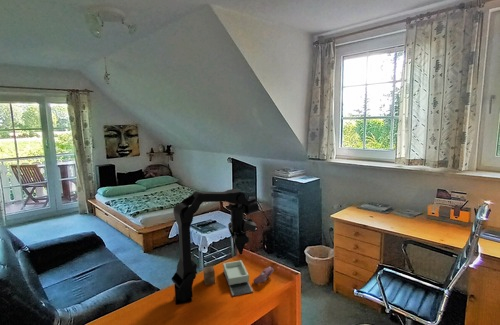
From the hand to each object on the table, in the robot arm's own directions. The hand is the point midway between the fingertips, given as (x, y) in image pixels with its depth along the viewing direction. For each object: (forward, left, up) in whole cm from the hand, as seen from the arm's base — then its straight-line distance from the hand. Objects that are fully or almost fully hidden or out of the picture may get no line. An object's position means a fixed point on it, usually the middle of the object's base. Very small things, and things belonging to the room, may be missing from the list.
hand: (238, 249), depth 135 cm
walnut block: (-14, -1, -13) cm, 19 cm away
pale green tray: (-2, -2, -13) cm, 13 cm away
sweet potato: (+10, -7, -13) cm, 18 cm away
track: (-2, -5, -13) cm, 14 cm away
